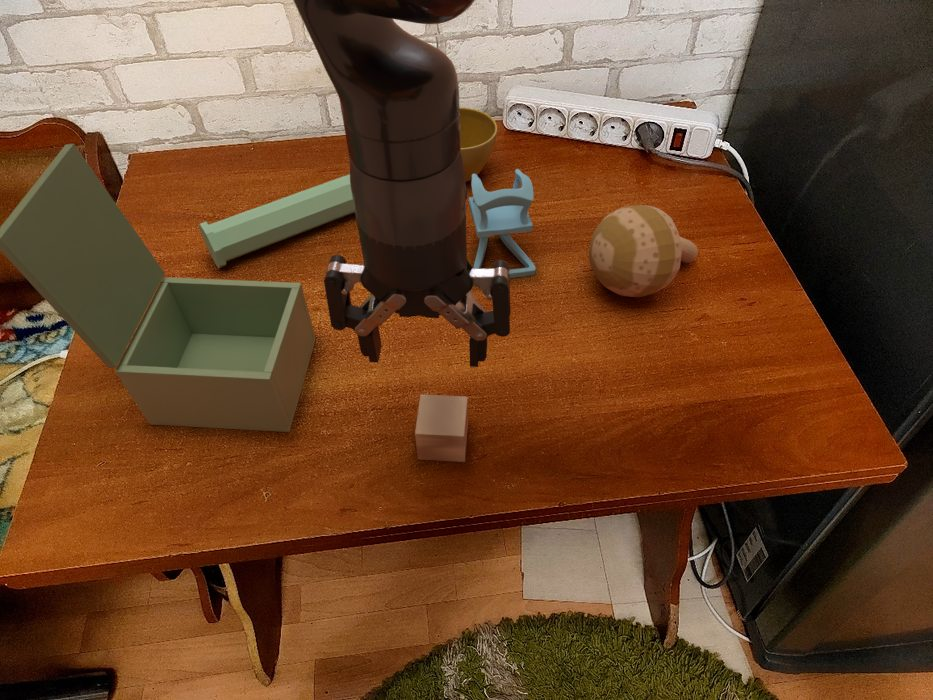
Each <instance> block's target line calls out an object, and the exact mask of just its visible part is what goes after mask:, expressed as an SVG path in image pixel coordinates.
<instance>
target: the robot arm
mask: <svg viewBox="0 0 933 700" xmlns="http://www.w3.org/2000/svg"><path fill="white" fill-rule="evenodd" d="M292 1H293V4H294V6H295V8H296V10H297V12H298V14H299V16H300V18H301V20H302V23H303V25H304V27H305V29H306V32H307V33H308V35H309V37H310V39H311V41H312V44H313V45H314V48H315V50H316V52H317V55H318V56H319V59H320V61H321V63H322V66H323V68H324V71H325V72H326V74H327V76H328V78H329V80H330V82H331V83H332V85H333V87H334V89H335V92H336V94H337V96H338V99H339V105H340V110H341V116H342V121H343V127H344V133H345V139H346V145H347V151H348V159H349V174H350V185H351V192H352V198H353V204H354V210H355V213H354V215H355V219H356V226H357V231H358V232H357V233H358V236H359V237H358V238H359V242H360V243H359V244H360V248H361V253H362V260H363V264H354V263H347V260H346V258H345V257H344V256H342V254H341V255H340V254H333V255H331V257H330V258H329V261H328V265H327V269H326V273H325V276H324V279H323V283H324V288H325V296H326V302H327V308H328V314H329V320H330V326H331V327H332V328H333V329H334V330H337V331H343V330H345V329H346V328H347V329H351V330H353V331H354V334H356V336H357V339H358V345H359V350H360V353H361V354H362V356H363V357H368V361H369V363H379V362H380V357H381V351H382V339H381V333H380V332H381V331H380V327H381V326H382V325H384V324H385V322H386V321H387V320H389V318H391V316H393V314H398V316H399V318H412V317H423V318H428V319H439V318H440V316H441V317H442V318H444V319H445V320H446V322H448V323H449V324H451V326H453V327H454V328H455V329H456V330H461V329H462V330H463V331H464V332H465V333H466V334H467V335H469V341H468V342H469V345H468V346H469V347H468V348H469V367H471V368H479V362H482V363H483V362H485V361H486V360H487V358H488V356H487V355H488V338H489V336H491V335H496V336H498V337H501V338H504V337H507V336H509V335H510V334H511V320H510V319H511V314H512V313H511V309H512V308H511V285H510V284H511V283H510V278H509V270H510V264H509V263H508V262H507V261H505V260H496V261H495V262H494V263H493V264H492V268H481V269H473V268H474V266H472V264H471V263H470V262H469V260H468V246H467V244H468V241H467V240H468V239H467V199H468V189H467V188H468V187H467V184H466V182H465V172H464V166H463V161H462V155H461V147H460V110H459V108H460V87H459V86H460V83H459V78H458V73H457V70H456V67H455V64H454V63H453V61H452V60H451V58H450V57H449V56H448V55H447V54H446V53H445V52H444V51H442V50H441V49H439V48H438V47H436V46H434V45H432V44H431V43H428V42H427V41H424V40H422V39H421V38H418V37H416V36H414V35H412V34H411V33H409V32H407V31H406V30H404V29H403V28H402V27H400V25H399V24H397V23H396V20H398V21H401V22H402V21H403V22H409V23H413V24H419V25H420V24H421V25H439V24H444V23H447V22H450V21H453V20H455V19H456V18H458V17H459V16H461V15H462V14H463V13H465V12H466V11H467V10H469V8H470V7H472V5H473V4H474V3H475V1H476V0H292ZM357 283H361V285H362V287H363V288H364V289H365V290H366V291H367V292H369V294H370V295H369V296H368V298H366V299H365V301H364V302H363V303H362V304H361V305H360V306H356V305H353V304H352V299H351V292H352V291H353V290H354V288H355V285H356V284H357ZM473 287H477V288H479V289H480V290H481V292H482V295H484V296H485V297H486V300H488V301H492V310H490V311H489V310H487V309H486V308H484V307H483V306H482V305H481V304H480V303H479V302H478V301H477V300H476V298H475V297H474V293H473V292H472V289H473Z"/></svg>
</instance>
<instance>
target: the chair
mask: <svg viewBox="0 0 933 700" xmlns="http://www.w3.org/2000/svg"><path fill="white" fill-rule="evenodd" d="M514 177H515V178H514V180H513V184H512V188H502V189H497V190H492V191H487V189H486V188H485V187H484V185H483V182H482V180H481V178H480V177H479V176H478V175H476V174H472V180H471V182H470V183H471V193H472V196H470V197H468V205H469V210H470V214H471V218H472V221H473V225H474V228H475V233H476V237H477V238H479V242H478V247H477V252H476V256H475V259H474V263H473V269H482V265H483V262H484V258H485V256H486V252H487V247H488V241H489V237H492V236H493V237H494V236H498V235H499V239H500V240H501V242H502V243H503V244H504V246H505V247H506V248H507V249H508V250H509V252H511V253H512V254H513V255H514V257H516V259H517V260H518V261H519V262H520V263H521V264H522V265H523V266H524V267H522V268H512V269H509V279H517V278H523V277H532V276H535V275H536V270H537V267H536V265H535V264H534V262H533V261H532V259H531V258H530V257H529V256H528V255H527V254H526V252H524V251H523V249H522V248H521V247H520V245H518V243H516V241H515V240H514V239H513V238H512V236H511V235H510V234H523V233H531V232H533V230H534V229H533V228H534V227H533V226H534V225H533V222H532V219H531V217H530V214H529V209H530V207H531V205H532V203H533V201H534V197H535V196H534V186H533V183H532V180H531V179H530V177H529V176H528V175H527V174H525V173H523V172H522V171H521V170H520V169H519V168H516V169H515V171H514ZM520 186H521V187H520Z"/></svg>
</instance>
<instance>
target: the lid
mask: <svg viewBox="0 0 933 700" xmlns="http://www.w3.org/2000/svg"><path fill="white" fill-rule="evenodd" d="M0 252H1V253H2V254H3V255H4V257H5V258H7V259H8V261H9V262H10V263H11V264H12V265H13V266H14V268H15V269H17V271H18V272H19V273H20V274H21V275H22V276H23V277H24V278H25V280H27V281H28V283H30V284H31V286H32V287H33V288H34V289H35V290H36V291H37V292H38V293H39V295H40V296H42V297H43V299H44V300H45V301H46V302H47V303H48V304H49V305H50V306H51V307H52V309H53V310H54V311H55V312H56V313H57V314H58V315H59V316H60V317H61V318H62V319H63V321H64V322H66V324H67V325H68V326H69V327H70V329H72V330H73V332H74V333H75V334H77V336H78V337H79V338H80V339H81V340H82V341H83V342H84V343H85V345H86V346H88V348H89V349H90V350H91V351H92V352H93V353H94V355H96V356H97V357H98V359H99V360H100V361H101V362H102V363H103V364H104V365H105V366H106V367H107V368H108V369H113V368H114V369H116V368H117V366H118V365H119V363H120V361H121V359H122V357H123V355H124V353H125V351H126V349H127V347H128V345H129V343H130V341H131V339H132V337H133V335H134V333H135V331H136V330H137V328H138V326H139V324H140V322H141V320H142V318H143V316H144V314H145V312H146V310H147V308H148V306H149V304H150V302H151V300H152V298H153V296H154V295H155V293H156V291H157V289H158V287H159V285H160V283H161V281H162V279H163V277H165V271H164V269H162V267H161V265H160V264H159V263H158V261H157V260H156V258H155V257H154V256H153V254H152V253H151V251H150V250H149V248H148V247H147V245H146V244H145V243H144V241H143V240H142V239H141V236H140V235H139V234H138V232H137V231H136V230H135V228H134V226H133V225H132V224H131V223H130V221H129V220H128V219H127V217H126V216H125V214H124V213H123V212H122V210H121V208H120V207H119V205H117V203H116V202H115V199H114V198H113V197H112V196H111V195H110V193H109V192H108V190H107V189H106V187H105V186H104V184H103V183H102V182H101V180H100V179H99V177H98V176H97V174H96V173H95V172H94V170H93V169H92V167H91V166H90V165H89V163H88V162H87V161H86V159H85V158H84V156H83V155H82V153H81V152H80V150H79V149H78V148H77V146H76V145H75V143H67V144H64V146H63V147H62V148H61V149H60V151H59V152H58V154H56V156H55V157H54V158H53V160H52V161H51V162H50V164H49V165H48V166H47V167H46V169H45V170H44V171H43V173H42V174H41V175H40V176H39V177H38V179H37V180H36V181H35V183H34V184H33V185H32V187H31V188H30V189H29V190H28V192H27V193H26V194H25V195H24V196H23V198H22V199H21V201H20V202H18V204H17V205H16V207H15V208H14V209H13V210H12V212H11V213H10V214H9V216H8V217H7V218H6V219H5V221H3V223H2V225H0Z"/></svg>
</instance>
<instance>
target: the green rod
mask: <svg viewBox="0 0 933 700" xmlns="http://www.w3.org/2000/svg"><path fill="white" fill-rule="evenodd" d="M352 214H355V210H354V204H353V198H352V192H351V185H350V173H348V174H346V175H342V176H340V177H337V178H335V179H332V180H329V181H326V182H324V183H321V184H318V185H316V186H312V187H310V188H307V189H304V190H302V191H299V192H295V193H294V194H293V193H292V194H289V195H288V196H284V197H281V198H279V199H277V200H273V201H271V202H268V203H265V204H261V205H259V206H257V207H253V208H251V209H248V210H246V211H243V212H240V213H237V214H234V215H231V216H230V217H225V218H224V219H221V220H218V221H215V222H212V223H208V222H207V221H204V222H200V223H199V225H198V229H199V232H200V234H201V236H202V239H203V242H204V244H205V246H206V248H207V250H208V252H209V254H210V257H211V258H212V260H213V262H214V263H215V265H216V267H217V268H218V269H221V268H224V267H226V265H227V262H229V261H232V260H234V259H237V258H240V257H242V256H245V255H247V254H250V253H253V252H256V251H258V250H261V249H263V248H266V247H268V246H271V245H273V244H277V243H279V242H281V241H284V240H287V239H289V238H292V237H295V236H297V235H299V234H302V233H305V232H308V231H310V230H313V229H315V228H318V227H321V226H323V225H326V224H328V223H332V222H334V221H336V220H339V219H341V218H344V217H347V216H349V215H352Z"/></svg>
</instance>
